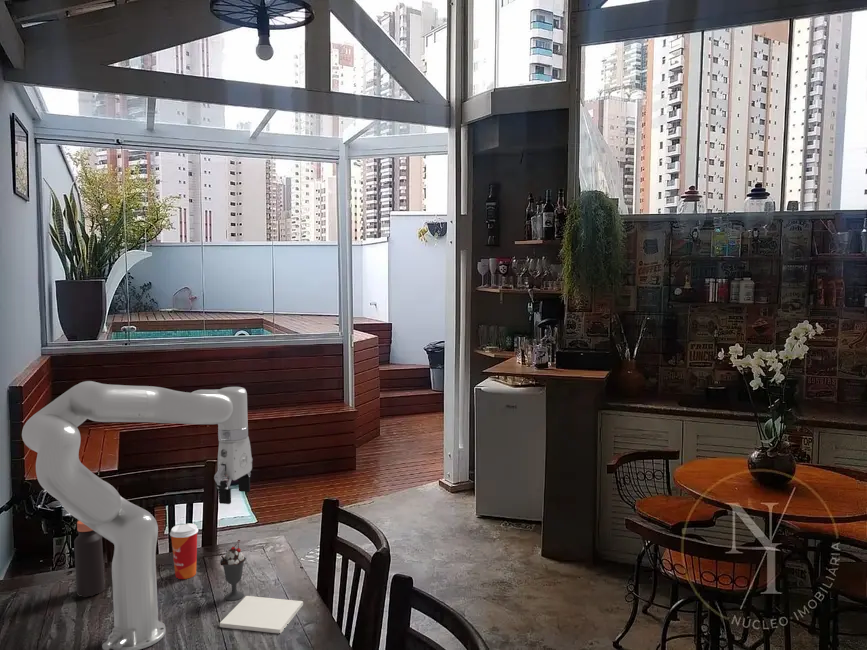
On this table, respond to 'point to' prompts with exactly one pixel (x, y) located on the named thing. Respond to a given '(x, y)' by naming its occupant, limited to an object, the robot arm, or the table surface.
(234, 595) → the sundae
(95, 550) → the bottle
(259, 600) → the board
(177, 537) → the paper cup
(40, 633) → the table surface
